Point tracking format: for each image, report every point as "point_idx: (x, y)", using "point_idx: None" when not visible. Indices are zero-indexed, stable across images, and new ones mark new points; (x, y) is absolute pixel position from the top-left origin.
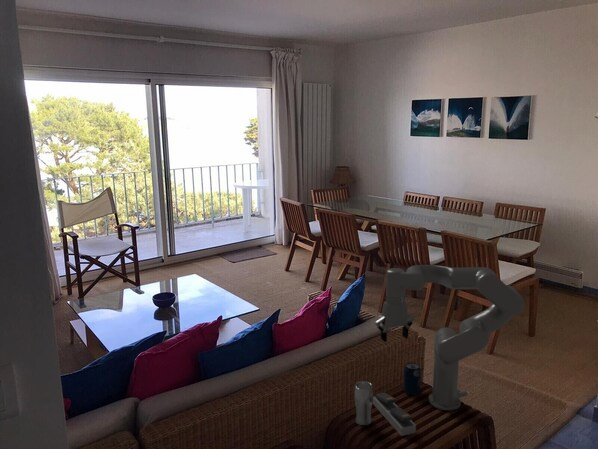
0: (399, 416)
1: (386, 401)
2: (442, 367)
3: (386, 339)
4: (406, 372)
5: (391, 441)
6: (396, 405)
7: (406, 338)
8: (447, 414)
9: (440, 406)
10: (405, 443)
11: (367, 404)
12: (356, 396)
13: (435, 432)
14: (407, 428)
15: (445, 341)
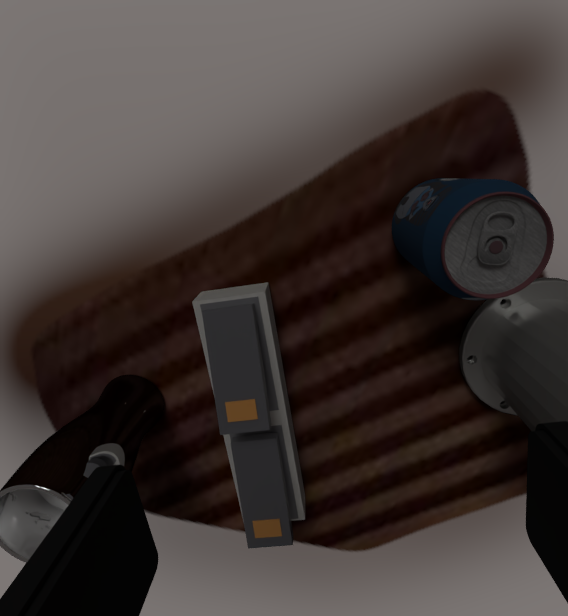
0: (244, 518)
1: (220, 424)
2: None
3: (143, 598)
4: (423, 262)
5: (206, 516)
6: (280, 390)
7: (535, 534)
8: (485, 426)
9: (485, 396)
10: None
11: None
12: (28, 500)
13: (375, 507)
14: None
15: None
